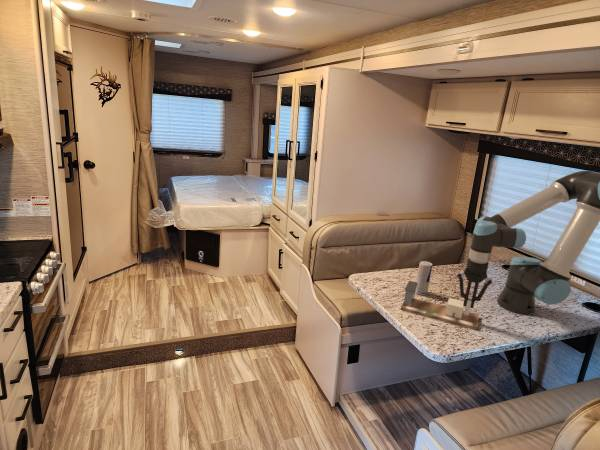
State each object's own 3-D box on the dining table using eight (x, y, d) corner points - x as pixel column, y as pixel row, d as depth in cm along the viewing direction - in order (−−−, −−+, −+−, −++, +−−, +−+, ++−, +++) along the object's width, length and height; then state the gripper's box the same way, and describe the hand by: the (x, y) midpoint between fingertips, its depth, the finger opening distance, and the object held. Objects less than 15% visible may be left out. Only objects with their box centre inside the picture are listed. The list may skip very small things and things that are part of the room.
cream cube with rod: (461, 312, 165) (464, 301, 163) (460, 322, 156) (462, 311, 155) (446, 308, 167) (449, 297, 165) (444, 318, 159) (446, 307, 157)
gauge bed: (478, 317, 165) (478, 314, 164) (477, 330, 154) (478, 327, 154) (406, 298, 176) (406, 295, 176) (400, 309, 166) (401, 306, 165)
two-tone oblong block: (415, 298, 174) (417, 282, 172) (411, 307, 166) (414, 291, 163) (406, 296, 176) (409, 280, 173) (402, 305, 167) (404, 288, 165)
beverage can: (427, 296, 180) (433, 266, 176) (415, 294, 181) (420, 264, 177) (426, 291, 185) (431, 261, 181) (414, 289, 186) (419, 260, 182)
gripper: (496, 260, 154) (483, 314, 161) (461, 253, 159) (450, 305, 166) (496, 267, 148) (483, 322, 155) (460, 259, 153) (448, 313, 159)
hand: (466, 313), depth 160 cm, fingers closed
